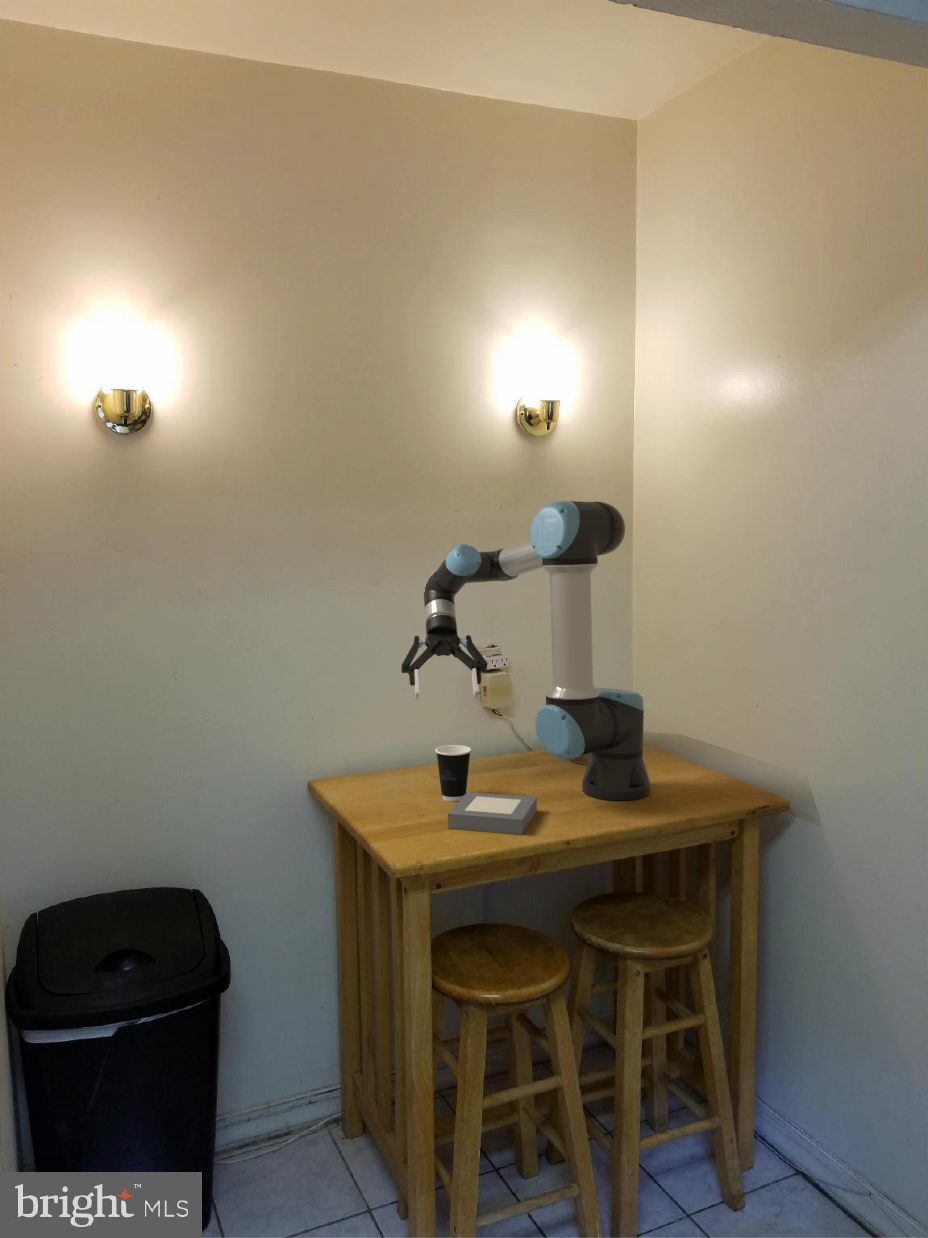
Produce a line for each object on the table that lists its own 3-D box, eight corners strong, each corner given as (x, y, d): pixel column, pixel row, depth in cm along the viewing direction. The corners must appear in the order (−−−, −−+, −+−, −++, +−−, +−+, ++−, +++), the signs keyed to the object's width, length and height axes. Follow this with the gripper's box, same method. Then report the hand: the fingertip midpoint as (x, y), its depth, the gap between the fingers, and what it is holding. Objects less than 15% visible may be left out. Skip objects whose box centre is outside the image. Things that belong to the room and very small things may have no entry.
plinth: (536, 811, 194) (536, 796, 194) (521, 834, 180) (521, 819, 179) (468, 805, 198) (467, 791, 198) (447, 828, 184) (447, 813, 183)
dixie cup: (467, 791, 208) (467, 743, 207) (475, 802, 201) (474, 752, 199) (433, 793, 207) (432, 745, 206) (439, 804, 199) (438, 754, 198)
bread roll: (580, 780, 230) (589, 754, 226) (556, 755, 237) (565, 730, 233) (610, 774, 235) (619, 749, 231) (586, 749, 242) (595, 725, 239)
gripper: (490, 631, 230) (498, 703, 217) (389, 632, 227) (392, 705, 214) (493, 612, 224) (502, 685, 211) (390, 613, 221) (392, 687, 208)
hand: (446, 695), depth 212 cm, fingers open, 13 cm apart
